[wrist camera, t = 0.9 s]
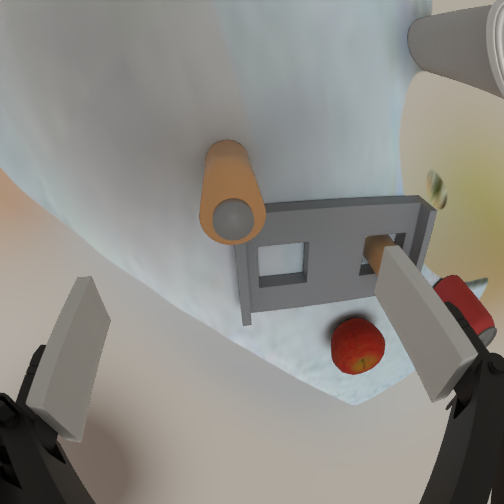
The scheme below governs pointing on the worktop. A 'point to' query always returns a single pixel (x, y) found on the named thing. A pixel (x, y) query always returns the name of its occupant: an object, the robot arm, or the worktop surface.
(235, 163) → the peg
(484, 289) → the worktop surface
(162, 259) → the worktop surface
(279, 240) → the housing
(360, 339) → the apple
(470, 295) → the beer can
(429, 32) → the coffee cup
